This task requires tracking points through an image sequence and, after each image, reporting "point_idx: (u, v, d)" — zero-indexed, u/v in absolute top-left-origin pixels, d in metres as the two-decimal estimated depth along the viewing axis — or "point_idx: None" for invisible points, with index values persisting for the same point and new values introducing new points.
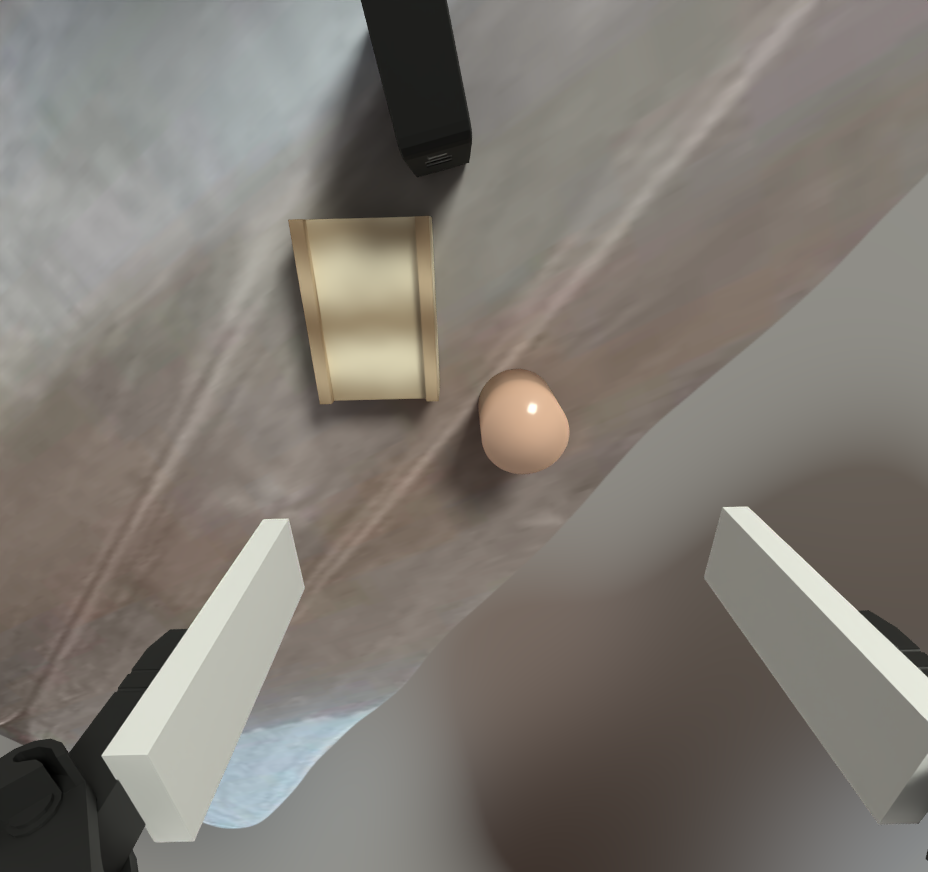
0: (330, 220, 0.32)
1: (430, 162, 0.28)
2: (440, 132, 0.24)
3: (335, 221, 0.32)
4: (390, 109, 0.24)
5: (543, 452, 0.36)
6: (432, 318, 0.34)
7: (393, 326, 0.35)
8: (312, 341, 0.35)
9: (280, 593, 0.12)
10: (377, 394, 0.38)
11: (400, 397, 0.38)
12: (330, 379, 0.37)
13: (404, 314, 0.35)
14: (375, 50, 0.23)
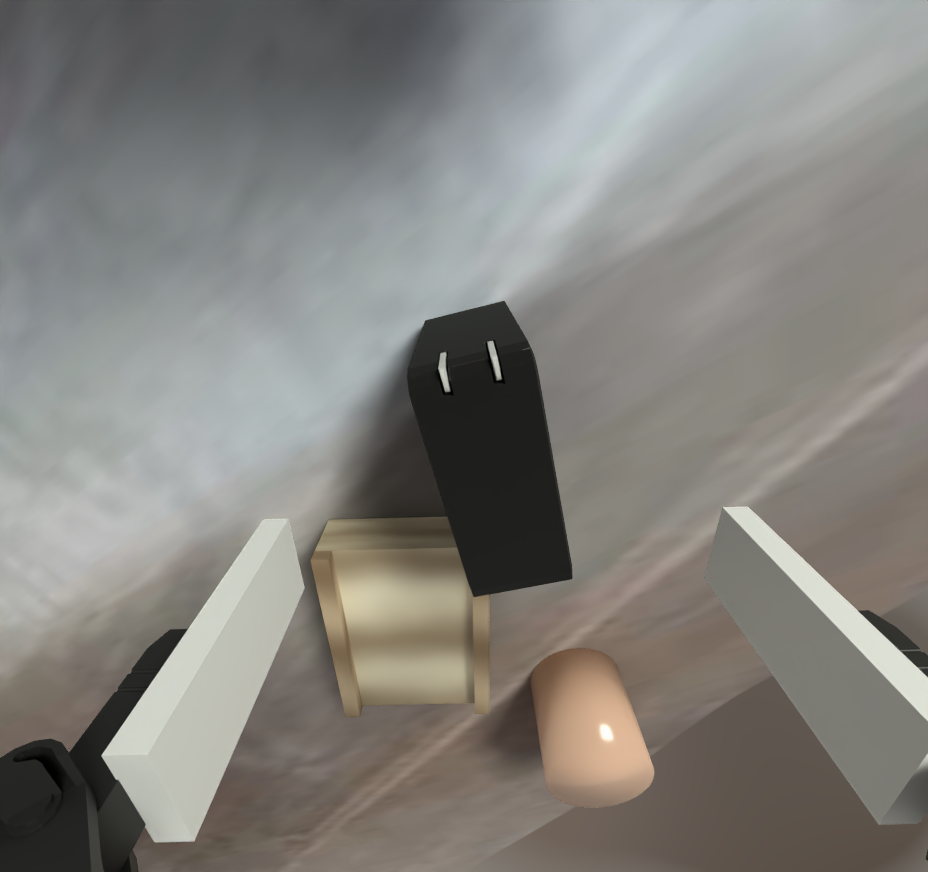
0: (363, 551, 0.25)
1: None
2: (530, 583, 0.17)
3: (370, 552, 0.25)
4: (463, 563, 0.17)
5: (620, 791, 0.29)
6: (488, 645, 0.28)
7: (437, 643, 0.29)
8: (338, 665, 0.28)
9: (280, 593, 0.12)
10: (414, 700, 0.31)
11: (442, 702, 0.31)
12: (358, 688, 0.31)
13: (451, 632, 0.28)
14: (446, 509, 0.16)
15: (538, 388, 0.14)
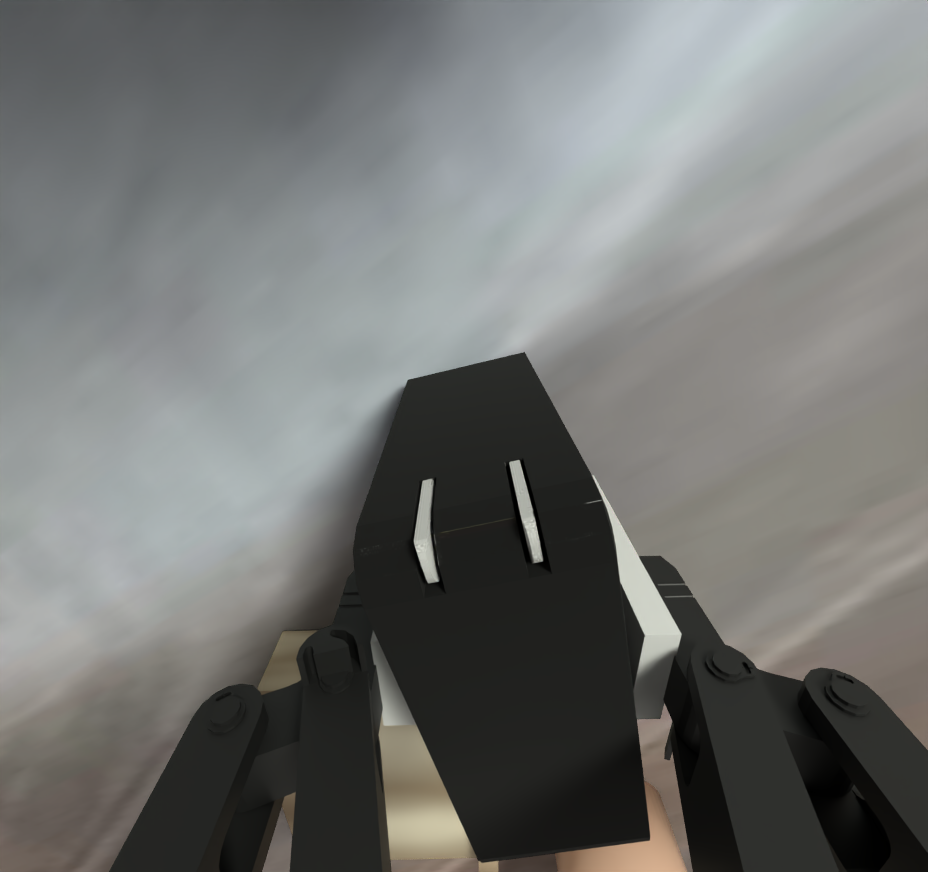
0: None
1: None
2: (579, 848, 0.10)
3: None
4: (464, 827, 0.10)
5: None
6: None
7: (429, 794, 0.21)
8: None
9: None
10: (400, 855, 0.24)
11: (436, 857, 0.24)
12: None
13: None
14: (434, 758, 0.09)
15: (617, 579, 0.07)
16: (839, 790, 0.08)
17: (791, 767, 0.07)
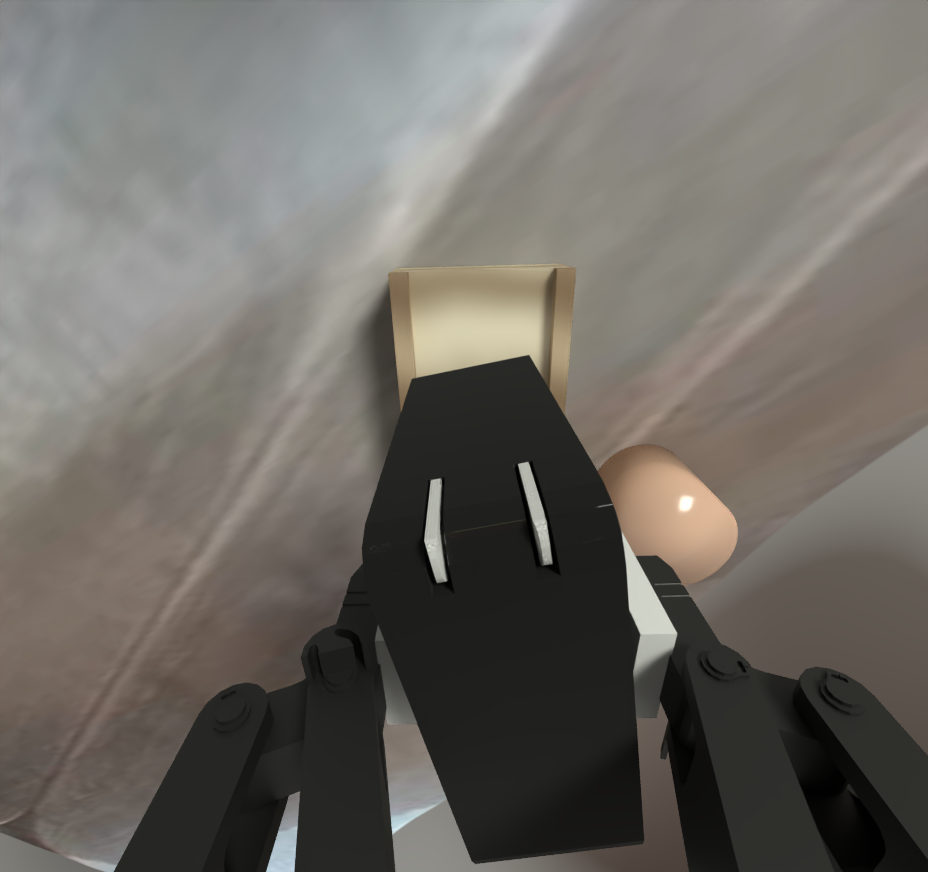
0: (441, 272, 0.24)
1: None
2: (572, 850, 0.10)
3: (448, 274, 0.24)
4: (459, 827, 0.10)
5: (699, 563, 0.28)
6: (564, 395, 0.26)
7: None
8: None
9: None
10: None
11: None
12: None
13: None
14: (433, 758, 0.09)
15: (625, 583, 0.07)
16: (834, 789, 0.08)
17: (786, 766, 0.07)
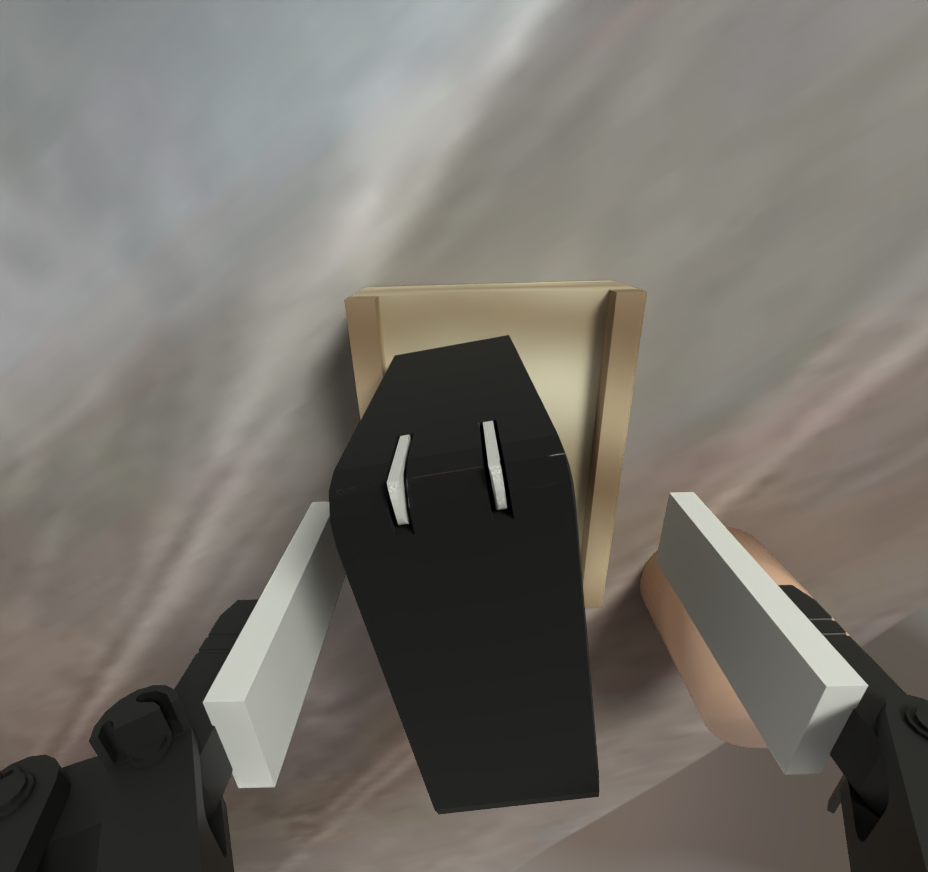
0: (430, 297, 0.15)
1: None
2: (531, 801, 0.11)
3: (441, 299, 0.15)
4: (423, 775, 0.10)
5: None
6: (618, 479, 0.18)
7: None
8: None
9: (331, 570, 0.13)
10: None
11: None
12: None
13: None
14: (396, 703, 0.09)
15: (575, 528, 0.07)
16: None
17: None
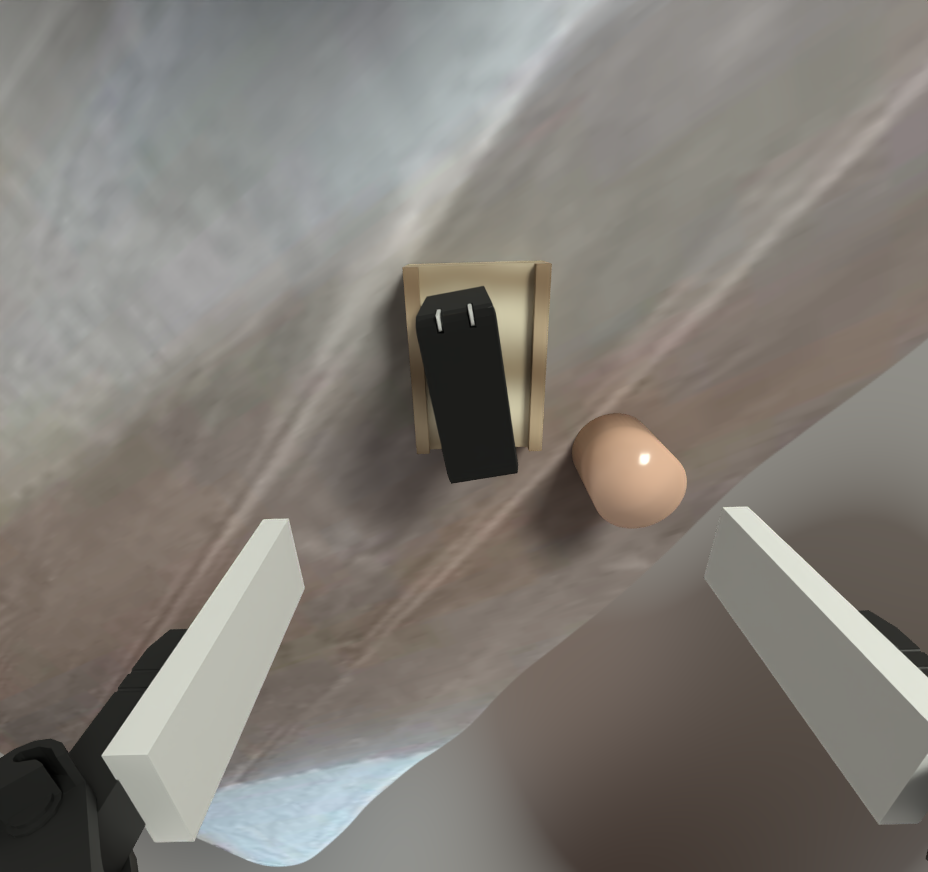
0: (444, 267, 0.30)
1: None
2: (489, 472, 0.26)
3: (450, 268, 0.30)
4: (444, 454, 0.25)
5: (656, 507, 0.34)
6: (544, 367, 0.32)
7: None
8: (415, 391, 0.33)
9: (280, 593, 0.12)
10: None
11: None
12: (427, 428, 0.35)
13: (512, 362, 0.33)
14: (435, 413, 0.24)
15: (496, 332, 0.22)
16: None
17: None
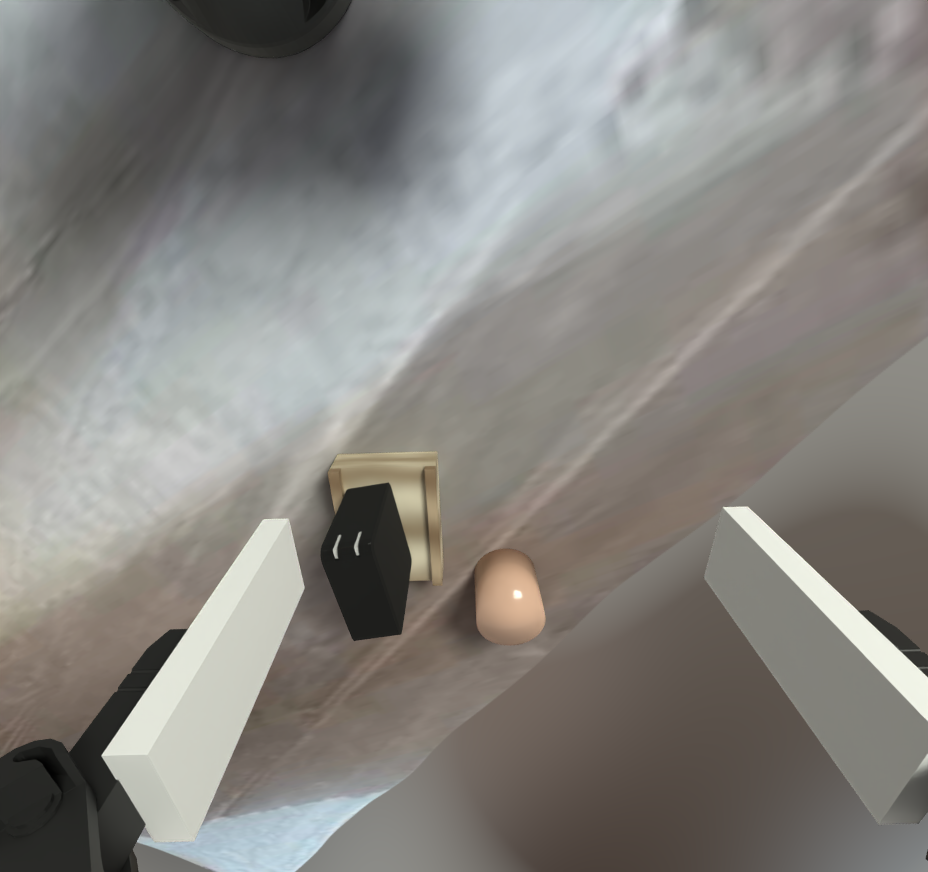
0: (359, 468, 0.42)
1: None
2: (380, 635, 0.37)
3: (363, 469, 0.42)
4: (347, 625, 0.37)
5: (525, 631, 0.45)
6: (438, 532, 0.44)
7: (407, 534, 0.45)
8: None
9: (280, 593, 0.12)
10: None
11: (412, 579, 0.47)
12: None
13: (415, 526, 0.44)
14: (338, 602, 0.35)
15: (374, 559, 0.34)
16: None
17: None
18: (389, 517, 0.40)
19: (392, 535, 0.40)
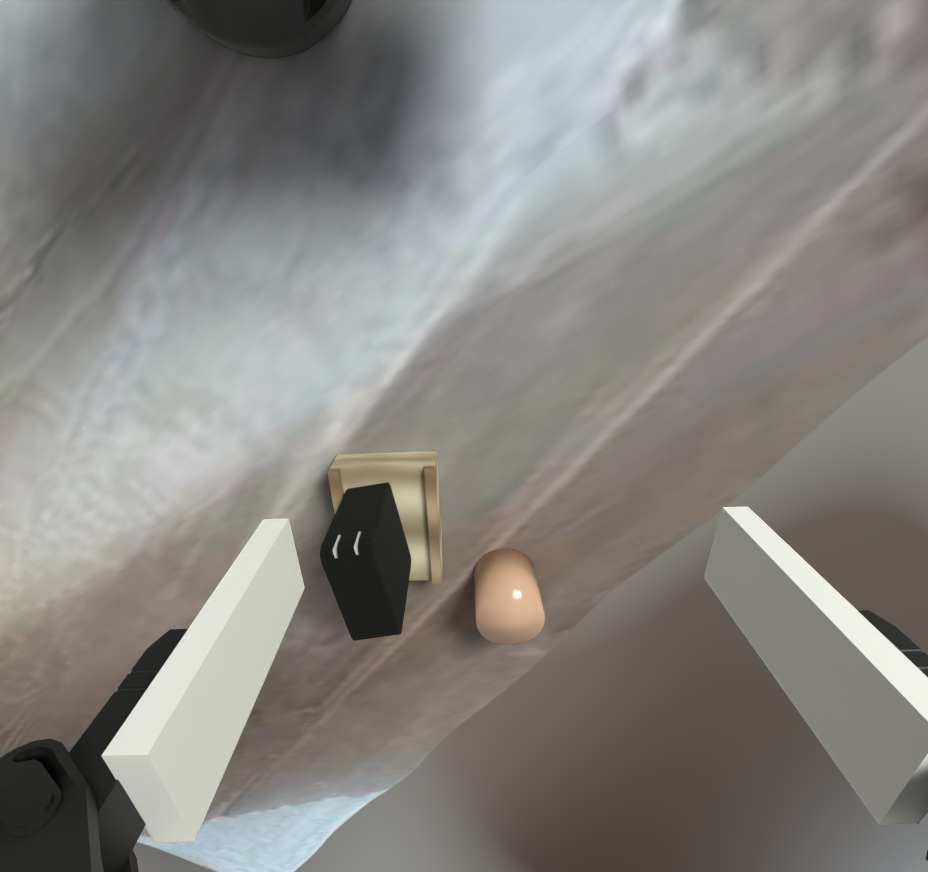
0: (359, 468, 0.42)
1: None
2: (379, 635, 0.37)
3: (363, 469, 0.42)
4: (347, 625, 0.37)
5: (525, 631, 0.45)
6: (437, 532, 0.44)
7: (406, 534, 0.45)
8: None
9: (280, 593, 0.12)
10: None
11: (411, 579, 0.47)
12: None
13: (415, 526, 0.45)
14: (338, 602, 0.35)
15: (373, 559, 0.34)
16: None
17: None
18: (389, 517, 0.40)
19: (392, 535, 0.40)
